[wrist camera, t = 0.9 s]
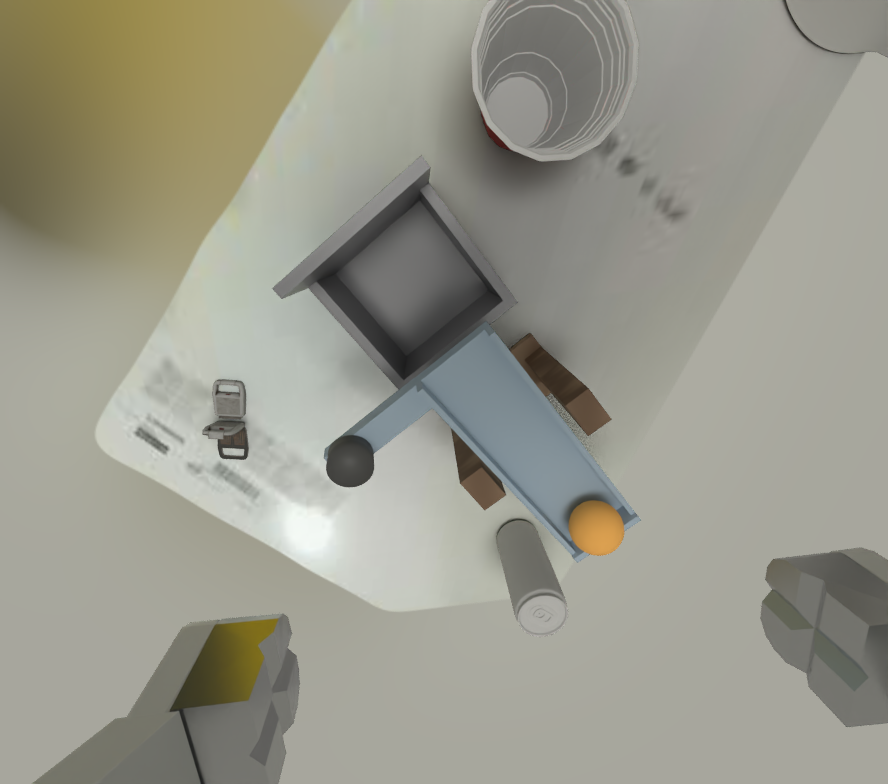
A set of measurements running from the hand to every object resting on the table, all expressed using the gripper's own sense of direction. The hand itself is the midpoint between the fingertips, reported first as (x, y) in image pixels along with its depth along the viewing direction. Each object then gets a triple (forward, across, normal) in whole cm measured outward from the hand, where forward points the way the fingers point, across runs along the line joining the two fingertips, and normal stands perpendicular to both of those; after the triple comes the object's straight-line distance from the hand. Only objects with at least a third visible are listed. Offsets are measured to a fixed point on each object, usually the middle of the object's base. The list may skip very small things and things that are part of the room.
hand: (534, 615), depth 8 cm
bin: (+39, +1, -4) cm, 39 cm away
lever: (+28, -3, +10) cm, 30 cm away
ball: (+24, -11, +15) cm, 30 cm away
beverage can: (+40, -8, +25) cm, 47 cm away
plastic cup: (+38, -9, -17) cm, 43 cm away
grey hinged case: (+40, +21, +8) cm, 46 cm away
